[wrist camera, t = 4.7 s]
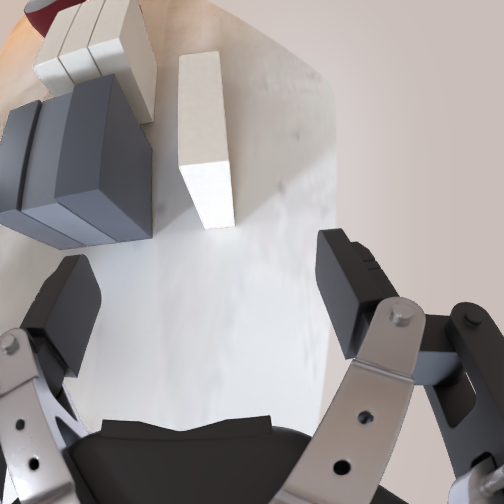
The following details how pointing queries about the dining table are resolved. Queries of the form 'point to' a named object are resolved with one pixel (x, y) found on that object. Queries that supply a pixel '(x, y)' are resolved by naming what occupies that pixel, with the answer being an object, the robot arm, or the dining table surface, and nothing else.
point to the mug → (46, 12)
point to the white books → (101, 52)
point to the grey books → (77, 169)
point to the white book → (204, 138)
